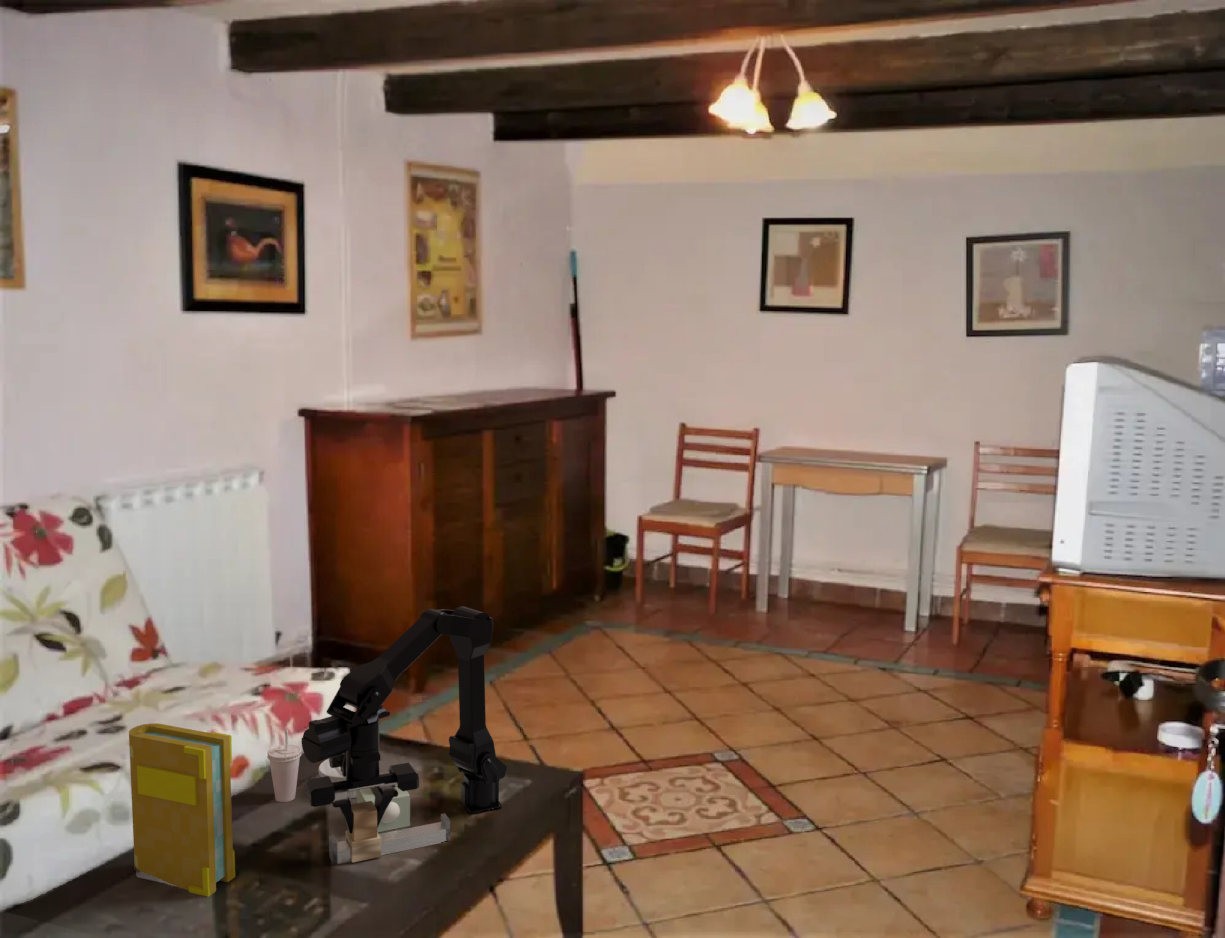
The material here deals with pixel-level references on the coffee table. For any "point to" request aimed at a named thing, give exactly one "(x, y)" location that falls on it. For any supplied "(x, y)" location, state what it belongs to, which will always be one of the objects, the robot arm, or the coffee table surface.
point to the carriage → (364, 832)
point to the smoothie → (284, 769)
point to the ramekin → (334, 775)
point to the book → (182, 806)
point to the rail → (396, 840)
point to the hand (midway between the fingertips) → (363, 829)
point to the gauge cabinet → (390, 809)
